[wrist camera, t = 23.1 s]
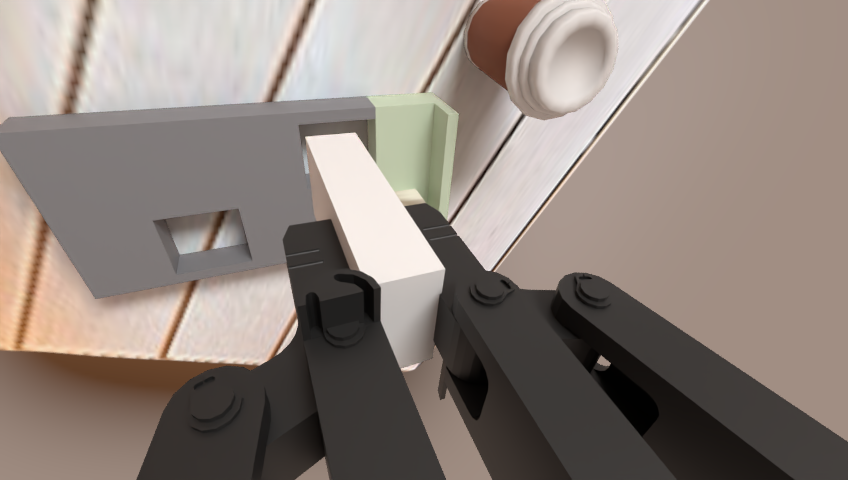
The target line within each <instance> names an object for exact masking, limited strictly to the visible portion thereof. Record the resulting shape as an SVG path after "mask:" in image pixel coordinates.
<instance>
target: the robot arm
mask: <svg viewBox="0 0 848 480" xmlns="http://www.w3.org/2000/svg"><path fill="white" fill-rule="evenodd" d="M305 140H306V148H307V157H308V166H309V174H310V183H311V192H312V200H313V209H314V215H315V218H316V221H315V222H308V223H302V224H296V225H289V227H288V229H287V231H286V233H285V235H284V238H283V245H284V251H285V256H286V262H287V267H288V273H289V278H290V283H291V289H292V294H293V299H294V304H295V309H296V314H297V319H298V328H297V331H296V334H295V336H294V338H293V339H292V341H291V343H290V344H289V345H288V346H287V347H286V348H285V349H284V350H283V351H282V352H281V353H279V354H278V355H277V356H275V357H274V358H272V359H271V360H269V361H267V362H265V363H264V364H262V365H260V366H258V367H257V368H255V369H253V370H251V371H250V370H248V369H246V368H244V367H236V366H223V367H219V368H215V369H211V370H207V371H205V372H204V373H201V374H200V375H198V376H196V377H194V378H192V379H190V380H189V381H188V382H187V383H186V384H185V385H183V386H182V387H181V388H180V389H179V390H178V391H177V392H176V393H175V394H173V397H172V398H171V400H170V401H169V403H168V404H167V406H166V408H165V409H164V411H163V413H162V416H161V418H160V421H159V424H158V426H157V429H156V431H155V434H154V437H153V439H152V441H151V444H150V447H149V449H148V452H147V454H146V457H145V459H144V462H143V465H142V467H141V470H140V472H139V475H138V477H137V480H295V479H296V478H297V477H299V476H300V475H301V474H302V473H303V472H305V471H306V470H308V469H309V468H310V467H312V466H313V465H314V464H315V463H317V462H318V461H319V460H321V459H322V458H323V457H324V456H325V459H326V464H327V469H328V474H329V479H330V480H446V478H445V476H444V473H443V471H442V468H441V466H440V464H439V461H438V459H437V456H436V454H435V451H434V449H433V447H432V444H431V442H430V439H429V437H428V434H427V432H426V430H425V427H424V425H423V422H422V420H421V418H420V415H419V413H418V410H417V408H416V405H415V403H414V401H413V398H412V396H411V393H410V391H409V388H408V386H407V384H406V381H405V379H404V376H403V374H402V372H401V369H400V368H404V367H407V366H410V365H413V364H417V363H420V362H423V361H426V360H430V359H432V357H433V350H434V344H435V345H436V347H437V348H438V350H439V352H440V354H441V356H442V358H443V364H442V369H441V375H440V381H439V387H438V393H439V397H440V400H441V399H444V398H445V394H446V389H447V388H448V390H449V392H450V394H451V396H452V398H453V400H454V402H455V404H456V406H457V408H458V410H459V412H460V415H461V417H462V419H463V420H464V423H465V425H466V427H467V429H468V431H469V433H470V435H471V437H472V439H473V441H474V443H475V445H476V447H477V449H478V451H479V453H480V455H481V457H482V459H483V461H484V463H485V466H486V467H487V470H488V472H489V474H490V476H491V478H492V480H848V442H847V441H846V440H844V439H843V438H841V437H840V436H838V435H837V434H835V433H834V432H832V431H831V430H829V429H828V428H826V427H825V426H823V425H822V424H820V423H819V422H818V421H816V420H815V419H813V418H812V417H810V416H809V415H807V414H806V413H804V412H803V411H801V410H800V409H798V408H797V407H795V406H793V405H792V404H791V403H789V402H788V401H786V400H785V399H783V398H782V397H780V396H779V395H777V394H776V393H774V392H773V391H771V390H770V389H768V388H767V387H765V386H764V385H762V384H761V383H759V382H758V381H756V380H755V379H753V378H752V377H750V376H749V375H747V374H746V373H745V372H743V371H741V370H740V369H739V368H737V367H736V366H734V365H733V364H731V363H730V362H728V361H727V360H725V359H724V358H722V357H721V356H719V355H718V354H716V353H715V352H713V351H712V350H710V349H709V348H707V347H706V346H704V345H703V344H701V343H700V342H698V341H697V340H695V339H694V338H692V337H691V336H689V335H688V334H686V333H685V332H683V331H682V330H680V329H679V328H677V327H676V326H674V325H673V324H671V323H670V322H669V321H667V320H665V319H664V318H663V317H661V316H660V315H658V314H657V313H655V312H654V311H652V310H651V309H649V308H648V307H646V306H645V305H643V304H642V303H640V302H639V301H637V300H636V299H634V298H633V297H631V296H630V295H628V294H627V293H625V292H624V291H622V290H621V289H619V288H618V287H616V286H615V285H613V284H612V283H610V282H608V281H607V280H605V279H603V278H601V277H599V276H595V275H592V274H588V273H572V274H568V275H565V276H564V278H562V279H561V280H560V281H559V284H558V287H557V289H556V290H525V289H519V287H518V286H517V285H516V284H514V283H513V282H512V281H511V280H510V279H509V278H507V277H505V276H503V275H501V274H499V273H496V272H491V271H486V270H485V269H484V268H483V267H482V265H481V264H480V263H479V261H478V260H477V259H476V258H475V256H474V255H473V254H472V252H471V251H470V250H469V248H468V247H467V246H466V245H465V243H464V242H463V241H462V239H461V238H460V237H459V236H457V233H456V232H455V230H454V229H453V228H452V226H450V225H449V223H448V221H447V220H446V219H445V217H444V216H443V215H442V214H441V212H440V211H438V210H436V209H435V208H433V207H431V206H430V205H428V204H426V203H421V204H415V205H409V206H403V204H402V203H401V201H400V199H399V198H398V196H397V195H396V193H395V192H394V190H393V189H392V187H391V186H390V184H389V183H388V181H387V180H386V178H385V177H384V175H383V174H382V172H381V171H380V169H379V168H378V166H377V165H376V163H375V162H374V160H373V159H372V157H371V156H370V154H369V152H368V151H367V149H366V148H365V146H364V145H363V143H362V142H361V140H360V139H359V137H358V136H357V134H356V133H344V134H331V135H319V136H307V137H305ZM601 355H602V356H603V357H604V358H605V359H606V360H608V361H609V362H610V363H611V364H610V366H603V365H600V364H598V363H597V361H598V359H599V357H600V356H601Z"/></svg>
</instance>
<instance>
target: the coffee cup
mask: <svg viewBox="0 0 848 480" xmlns="http://www.w3.org/2000/svg"><path fill="white" fill-rule="evenodd" d="M464 47H465V50H466V53H467V56H468V59H469V60H470V61H471V62H472V63H473V64H474V65H475V66H476V67H477V68H479V69H480V70H481V71H483V72H484V73H485V74H487V75H488V76H489V77H490V78H492V79H493V80H494V81H496V82H497V83H498V84H499V85H501V86H502V87H503V88H505V89H506V90H507V91H508V92H509V96H510V99H511V101H512V102H513V103H514V104H515V105H516V106H517V107H518V109H519V110H520V111H521V112H522V113H523V114H525V115H527V116H530V117H533V118H537V119H541V120H548V119H552V118H557V117H562V116H564V115H566V114H567V113H570V112H575V111H577V110H578V109H580V108H581V107H583V106H585V105H586V104H588V103H589V102H591V101H592V99H593V98H594V97H595V96H596V95H597V94H598V93H599V92H600V90H601V89H602V88H603V87H604V86H605V84H606V82H607V80H608V78H609V76H610V74H611V73H612V71H613V69H614V65H615V61H616V57H617V53H618V31H617V28H616V26H615V25H614V23H613V16H612V14H611V12H610V10H609V8H608V6H607V4H606V2H605V0H483V1H482V2H480V3H479V4H478V5H477V7H476V8H475V9H474V11H473V12H472V13H471V15H470V16H469V19H468V22H467V25H466V28H465V31H464Z"/></svg>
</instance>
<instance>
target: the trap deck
mask: <svg viewBox="0 0 848 480" xmlns="http://www.w3.org/2000/svg"><path fill="white" fill-rule="evenodd" d="M458 118H459V113H458V112H456V111H455V110H454V109H452V108H451V107H450V106H449V105H447V104H446V103H445V102H444V101H442V100H441V99H440V98H438V97H437V96H436V95H435V94H433V93H416V94H399V95H383V96H366V97H349V98H332V99H315V100H298V101H281V102H264V103H248V104H231V105H214V106H197V107H180V108H163V109H146V110H129V111H113V112H96V113H79V114H62V115H45V116H28V117H11V118H8V119H7V120H6V121H4V122H3V123H2V124H1V125H0V151H1V153H2V154H3V156H4V157H5V159H6V160H7V162H8V163H9V165H10V167H11V168H12V170H13V171H14V173H15V174H16V176H17V177H18V179H19V181H20V182H21V184H22V185H23V187H24V188H25V190H26V191H27V193H28V195H29V196H30V198H31V199H32V201H33V202H34V204H35V205H36V207H37V209H38V210H39V212H40V213H41V215H42V216H43V218H44V219H45V221H46V223H47V224H48V226H49V227H50V229H51V230H52V232H53V233H54V235H55V237H56V238H57V240H58V241H59V243H60V244H61V246H62V247H63V249H64V251H65V252H66V254H67V255H68V257H69V258H70V260H71V261H72V263H73V265H74V266H75V268H76V269H77V271H78V272H79V274H80V275H81V277H82V279H83V280H84V282H85V283H86V285H87V286H88V288H89V290H90V291H91V293H92V294H93V296H94V297H95V299H98V298H103V297H109V296H114V295H119V294H125V293H130V292H135V291H140V290H146V289H151V288H156V287H161V286H167V285H172V284H177V283H183V282H188V281H193V280H198V279H204V278H209V277H214V276H220V275H225V274H230V273H235V272H241V271H246V270H251V269H256V268H262V267H267V266H272V265H278V264H283V263H287V262H286V256H285V251H284V245H283V238H284V235H285V233H286V231H287V229H288V227H289V225H296V224H302V223H308V222H315V221H316V218H315V215H314V209H313V200H312V192H311V183H310V174H305V168H304V161H303V153H302V146H301V139H300V132H299V125H303V124H316V123H328V122H341V121H354V120H366V119H367V131H368V152H369V154H370V156H371V157H372V159H373V160H374V162H375V163H376V165H377V166H378V168H379V169H380V171H381V172H382V174H383V175H384V177H385V178H386V180H387V181H388V183H389V184H390V186H391V187H392V189H393V190H394V191H401V190H408V189H416V190H417V191H418V193H419V194H420V195H421V197H422V198H423V200H424V201H425V202H426V204H428V205H430V206H431V207H433V208H435V209H436V210H438V211H440V212H441V214H442V215H443V216H444V217H445V219H446V220H447V216H448V207H449V198H450V189H451V180H452V171H453V162H454V154H455V145H456V136H457V127H458ZM232 209H239V212H240V216H241V220H242V223H243V227H244V231H245V234H246V238H247V242H248V244H242V245H236V246H230V247H224V248H219V249H213V250H207V251H201V252H195V253H189V254H183V255H179V253H178V250H177V248H176V245H175V243H174V241H173V238H172V236H171V234H170V231H169V229H168V226H167V224H166V222H165V219H168V218H175V217H182V216H189V215H196V214H204V213H211V212H218V211H225V210H232Z"/></svg>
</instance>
